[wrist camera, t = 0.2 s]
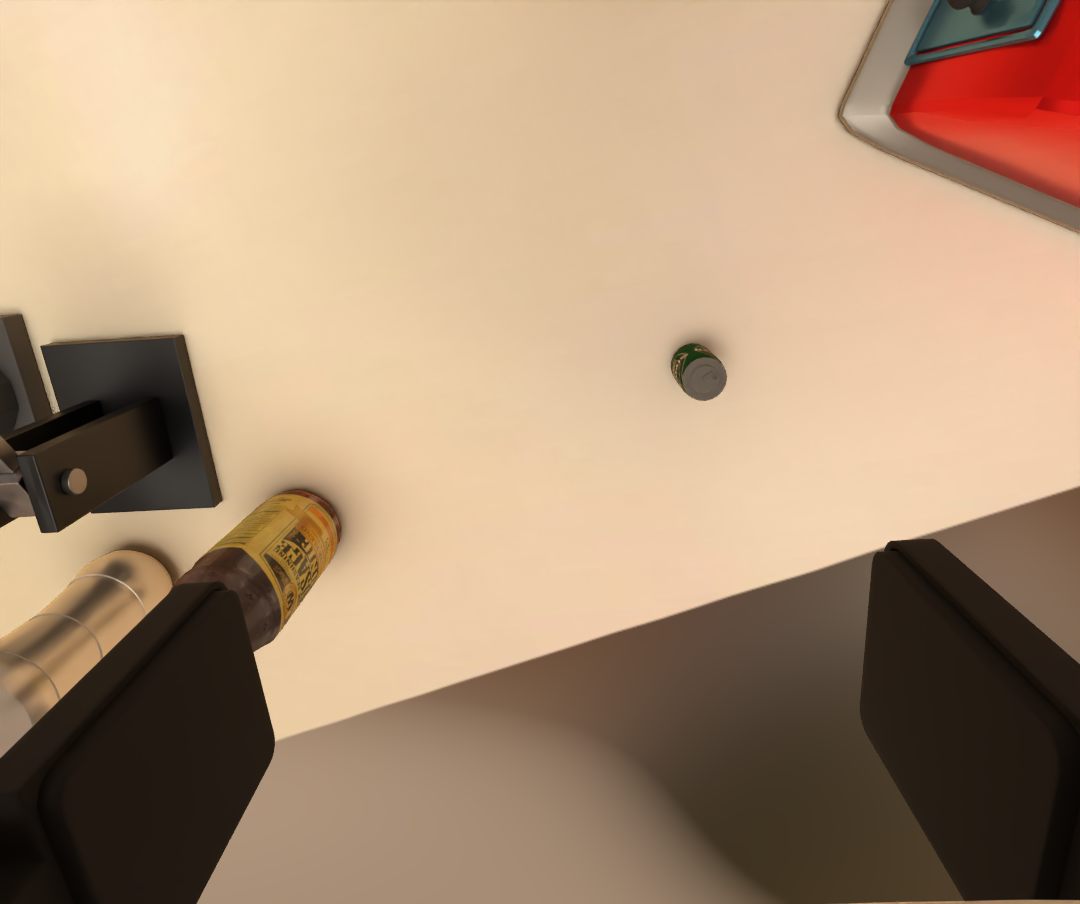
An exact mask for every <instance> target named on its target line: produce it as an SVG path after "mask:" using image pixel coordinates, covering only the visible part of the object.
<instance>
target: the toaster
mask: <svg viewBox="0 0 1080 904" xmlns="http://www.w3.org/2000/svg"><path fill="white" fill-rule="evenodd" d="M839 119H840V120H841V121H842V123H843V124H844V125H845V127H846V128H847V129H848V131H849V132H850V133H852V134H854V135H856V136H857V137H859V138H861V139H863V140H865V141H866V142H868V143H870V144H872V145H874V146H876V147H877V148H879V149H881V150H883V151H885V152H887V153H890V154H892V155H894V156H897V157H899V158H901V159H904V160H906V161H908V162H910V163H913V164H915V165H917V166H920V167H922V168H924V169H927V170H929V171H932V172H934V173H937V174H939V175H941V176H944V177H946V178H949V179H951V180H953V181H956V182H958V183H961V184H963V185H965V186H968V187H970V188H973V189H975V190H977V191H980V192H982V193H985V194H987V195H989V196H992V197H994V198H997V199H999V200H1001V201H1004V202H1006V203H1009V204H1011V205H1013V206H1016V207H1018V208H1021V209H1023V210H1025V211H1028V212H1030V213H1033V214H1035V215H1037V216H1040V217H1042V218H1045V219H1047V220H1049V221H1052V222H1054V223H1057V224H1059V225H1061V226H1064V227H1066V228H1069V229H1071V230H1074V231H1076V232H1078V233H1080V0H890V1H889V3H888V5H887V8H886V10H885V12H884V14H883V16H882V18H881V21H880V23H879V25H878V27H877V29H876V31H875V34H874V36H873V38H872V40H871V42H870V44H869V47H868V49H867V51H866V53H865V55H864V57H863V60H862V62H861V64H860V66H859V68H858V70H857V73H856V75H855V77H854V79H853V81H852V83H851V85H850V88H849V90H848V92H847V94H846V96H845V98H844V101H843V103H842V105H841V108H840V113H839Z"/></svg>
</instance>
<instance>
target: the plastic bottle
mask: <svg viewBox="0 0 1080 904" xmlns="http://www.w3.org/2000/svg"><path fill="white" fill-rule="evenodd" d="M172 586H173V585H172V580H171V578H170V575H169V573H168V572H167V570H166V569H165V567H164V566H163V565H162V564H161V563H160V562H159V561H157V560H156V559H155V558H153V557H151V556H150V555H147V554H145V553H142V552H136V551H131V550H119V551H114V552H111V553H109V554H106V555H104V556H102V557H100V558H98V559H95V560H93V561H92V562H90V563H89V564H88V565H86V566H85V567H84V568H83V569H82V570H81V571H80V572H79V573H78V574H77V575H76V577H75V578H74V579H73V580H72V581H71V583H70V584H69V585H68V587H67V588H66V589H65V590H64V591H63V592H62V593H61V594H60V595H59V596H58V597H56V598H55V599H54V600H53V601H52V602H51V603H50V604H49V605H48V606H47V607H46V608H45V609H43V610H42V611H41V612H40V613H39V614H37V615H36V616H34V617H33V618H32V619H30V620H29V621H28V622H26V623H24V624H23V625H21V626H20V627H18V628H17V629H15V630H14V631H12V632H11V633H9V634H8V635H6V636H4V637H3V638H1V639H0V758H1V757H2V756H3V755H4V754H5V753H6V752H7V751H8V750H9V749H10V748H11V747H12V746H13V745H14V744H15V743H16V742H17V741H18V740H19V739H20V738H21V737H22V736H23V735H24V734H25V733H26V732H27V731H29V730H30V729H31V728H32V727H33V726H34V725H35V724H36V723H37V722H38V721H39V720H40V719H41V718H42V717H43V716H44V715H45V714H46V713H47V712H48V711H49V710H50V709H51V708H52V707H53V706H54V705H55V704H56V703H57V702H58V701H59V700H60V699H61V698H62V697H63V696H64V695H65V694H66V693H67V692H68V691H69V690H70V689H71V688H72V687H74V686H75V685H76V684H77V683H78V682H79V681H80V680H81V679H82V678H83V677H84V676H85V675H86V674H87V673H88V672H89V671H90V670H91V669H92V668H93V667H94V666H95V665H96V664H97V663H98V662H99V661H100V660H101V659H102V658H103V657H104V656H105V655H106V654H107V653H108V652H109V651H110V650H111V649H112V648H113V647H114V646H115V645H116V644H117V643H118V642H120V641H121V640H122V639H123V638H124V637H125V636H126V635H127V634H128V633H129V632H130V631H131V630H132V629H133V628H134V627H135V626H136V625H137V624H138V623H139V622H140V621H141V620H142V619H143V618H144V617H145V616H146V615H147V614H148V613H149V612H150V611H151V610H152V609H153V608H154V607H155V606H156V605H157V604H158V603H159V602H160V601H161V600H162V599H163V598H165V597H166V596H167V595H168V594H169V592H170V590H171V587H172Z"/></svg>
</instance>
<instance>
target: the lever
mask: <svg viewBox="0 0 1080 904" xmlns="http://www.w3.org/2000/svg"><path fill="white" fill-rule="evenodd" d="M23 452H25V451H14V450H13V448H12V447H11V446H10V445H9V444H8V443H7V442H6V441H5V440H4V439H3V438H2V437H1V435H0V507H1V508H2V509H3V510H4V511H5V512H6V513H7V514H8V515H9V516H10V517H31V516H35V513H34V510H33V507H32V504H31V501H30V498H29V495H28V492H27V489H26V486H25V483H24V480H23V477H22V474H21V471H20V468H19V465H18V462H17V459H16V456H17V455H19V454H21V453H23Z"/></svg>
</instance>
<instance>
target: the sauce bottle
mask: <svg viewBox="0 0 1080 904" xmlns="http://www.w3.org/2000/svg"><path fill="white" fill-rule="evenodd" d="M340 532H341V528H340V524H339V521H338V519H337V517H336V515H335V512H334V511H333V510H332V509H331V507H330V505H329V504H328V503H327V502H326V501H324V500H323V499H322V498H320V497H317V496H315V495H312V494H310V493H307V492H305V491H299V490H294V491H289V492H284V493H281V494H279V495H276V496H274V497H272V498H270V499H268V500H266V501H265V502H264V503H262V504H261V505H260V506H259V507H258V508H257V509H255V510H254V511H253V512H252V513H251V514H250V515H249V516H247V517H246V518H245V519H244V520H243V521H242V522H241V523H240V524H239V525H237V526H236V527H235V528H234V529H233V530H232V531H231V532H230V533H228V534H227V535H226V536H225V537H224V538H223V539H222V540H220V541H219V542H218V543H217V544H216V545H215V546H214V547H212V548H211V549H210V550H209V551H208V552H207V553H206V554H204V555H203V556H202V557H201V558H200V559H199V560H198V561H197V562H196V563H195V564H194V566H193V568H192V569H191V570H189V571H188V572H186V573H185V574H184V575H183V576H182V577H181V578H180V579H179V580H178V581H177V582H176V584H175V585H173V586H172V587H171V590H170V592H171V591H172V590H173V589H174V588H175V587H176V586H178V585H179V584H182V583H197V582H214V581H220V582H222V583H224V584H225V586H226V587H227V588H228V590H233V591H235V592H236V593H237V594H238V596H239V599H240V602H241V606H242V610H243V614H244V618H245V622H246V626H247V630H248V634H249V637H250V641H251V645H252V649H253V652H254V651H256V650H258V649H259V648H261V647H263V646H264V645H266V644H268V643H270V642H271V641H273V640H274V639H275V637H276V636H277V635H278V633H279V632H280V631H281V630H282V628H283V626H284V625H285V624H286V623H287V621H288V620H289V618H290V617H291V615H292V614H293V613H294V611H295V610H296V609H297V607H298V606H299V605H300V603H301V602H302V601H303V599H304V597H305V596H306V595H307V593H308V592H309V591H310V589H311V588H312V586H313V585H314V584H315V582H316V581H317V579H318V578H319V577H320V575H321V574H322V572H323V571H324V570H325V568H326V567H327V565H328V564H329V563H330V561H331V560H332V558H333V556H334V554H335V551H336V547H337V545H338V543H339V541H340ZM170 592H169V593H170Z"/></svg>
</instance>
